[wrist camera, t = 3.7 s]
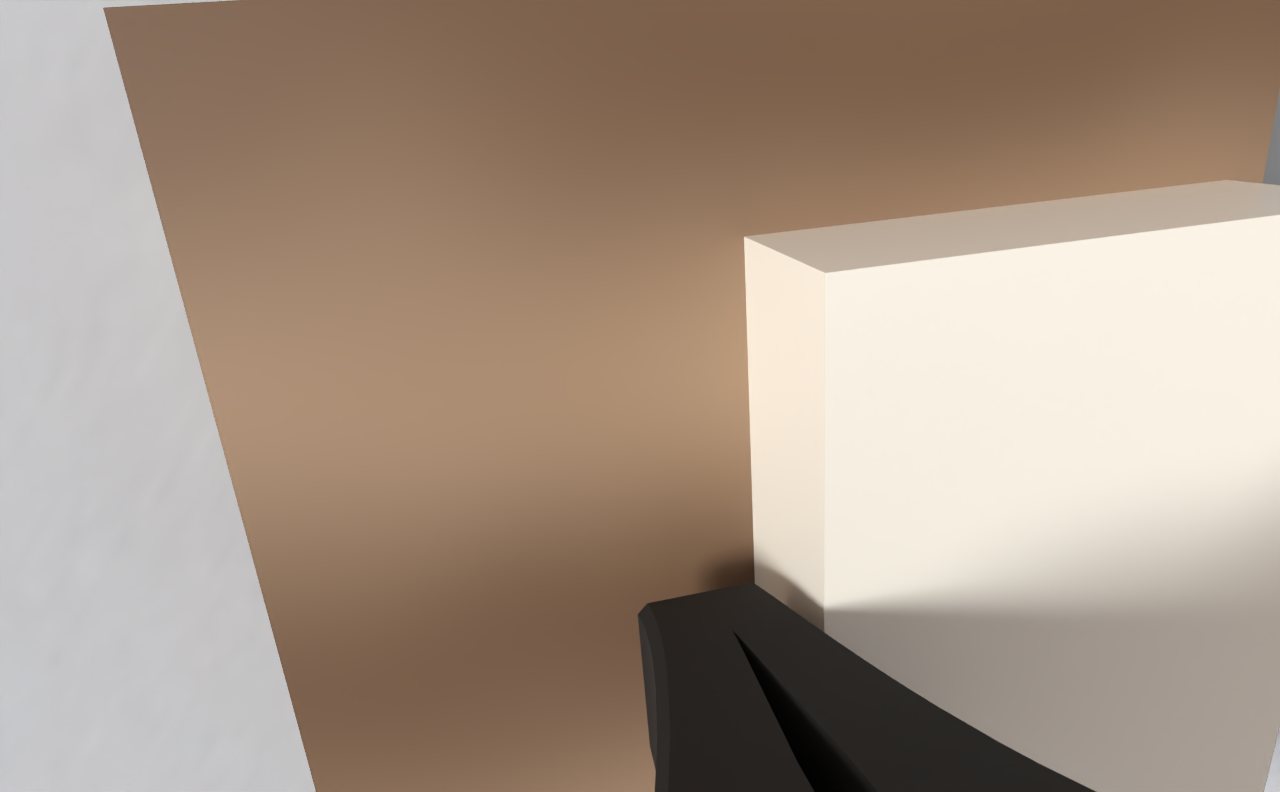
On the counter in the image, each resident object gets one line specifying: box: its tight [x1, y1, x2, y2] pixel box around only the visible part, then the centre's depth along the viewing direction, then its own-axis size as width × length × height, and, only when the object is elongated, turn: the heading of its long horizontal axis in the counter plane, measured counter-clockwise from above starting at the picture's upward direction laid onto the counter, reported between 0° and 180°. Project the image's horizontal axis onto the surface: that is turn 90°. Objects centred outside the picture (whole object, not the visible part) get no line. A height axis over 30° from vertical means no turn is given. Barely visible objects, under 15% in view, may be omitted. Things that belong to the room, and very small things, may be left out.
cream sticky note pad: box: [744, 180, 1280, 792], centre depth 10 cm, size 9×6×2 cm, turn 4°
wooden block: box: [103, 0, 1280, 792], centre depth 12 cm, size 14×12×4 cm
